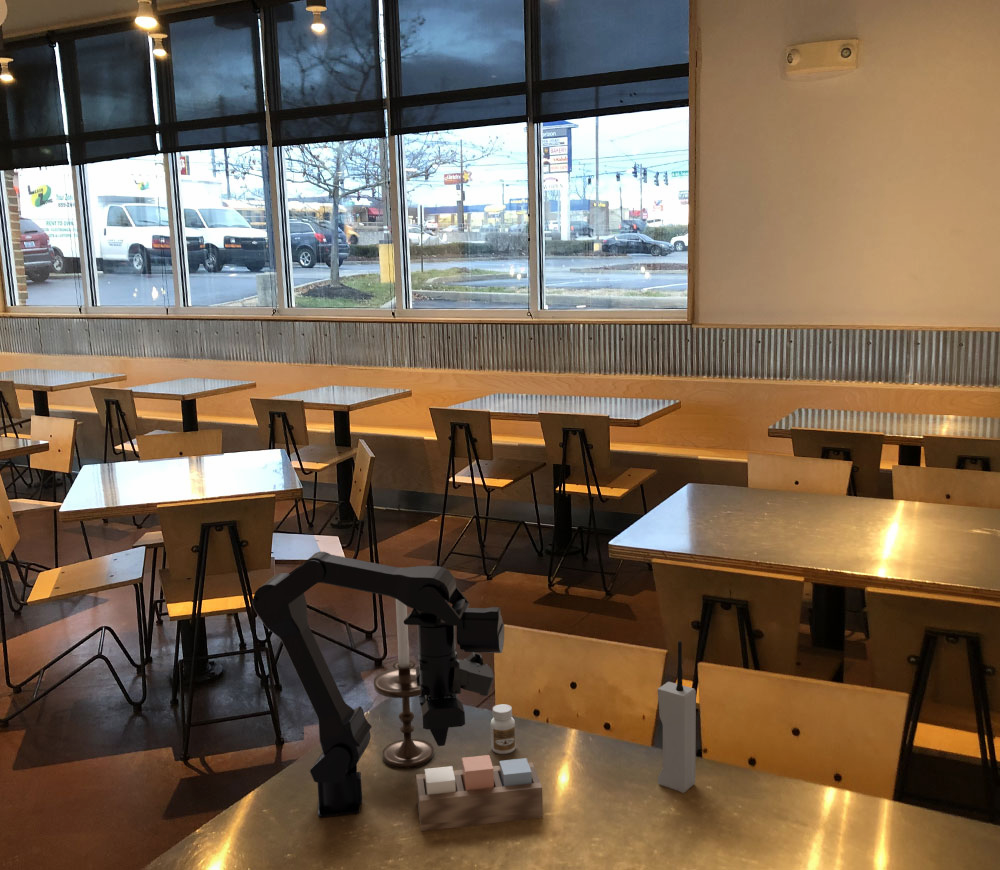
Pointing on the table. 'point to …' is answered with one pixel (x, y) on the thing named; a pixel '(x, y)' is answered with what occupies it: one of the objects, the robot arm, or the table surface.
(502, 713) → the pill bottle
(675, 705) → the vintage mobile phone
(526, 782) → the key slate
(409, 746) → the candlestick
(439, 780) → the key white
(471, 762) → the key terracotta
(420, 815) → the key housing
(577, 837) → the table surface
